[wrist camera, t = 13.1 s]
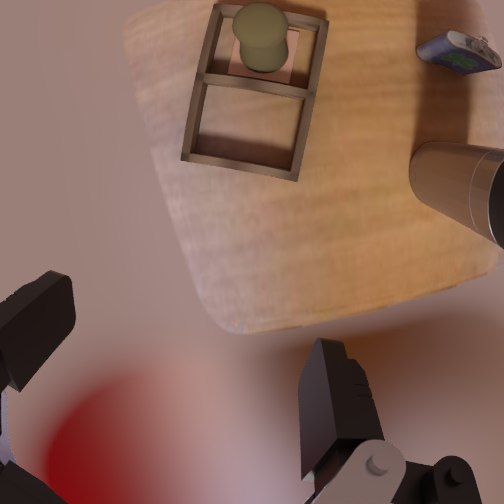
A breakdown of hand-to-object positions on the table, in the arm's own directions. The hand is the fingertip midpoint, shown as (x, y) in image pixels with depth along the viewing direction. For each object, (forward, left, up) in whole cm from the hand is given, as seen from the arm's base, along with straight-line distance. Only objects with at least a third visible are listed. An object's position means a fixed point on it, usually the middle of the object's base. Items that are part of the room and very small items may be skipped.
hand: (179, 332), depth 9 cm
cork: (+2, -17, -30) cm, 35 cm away
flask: (-22, -25, -30) cm, 45 cm away
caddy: (+2, -12, -30) cm, 32 cm away
